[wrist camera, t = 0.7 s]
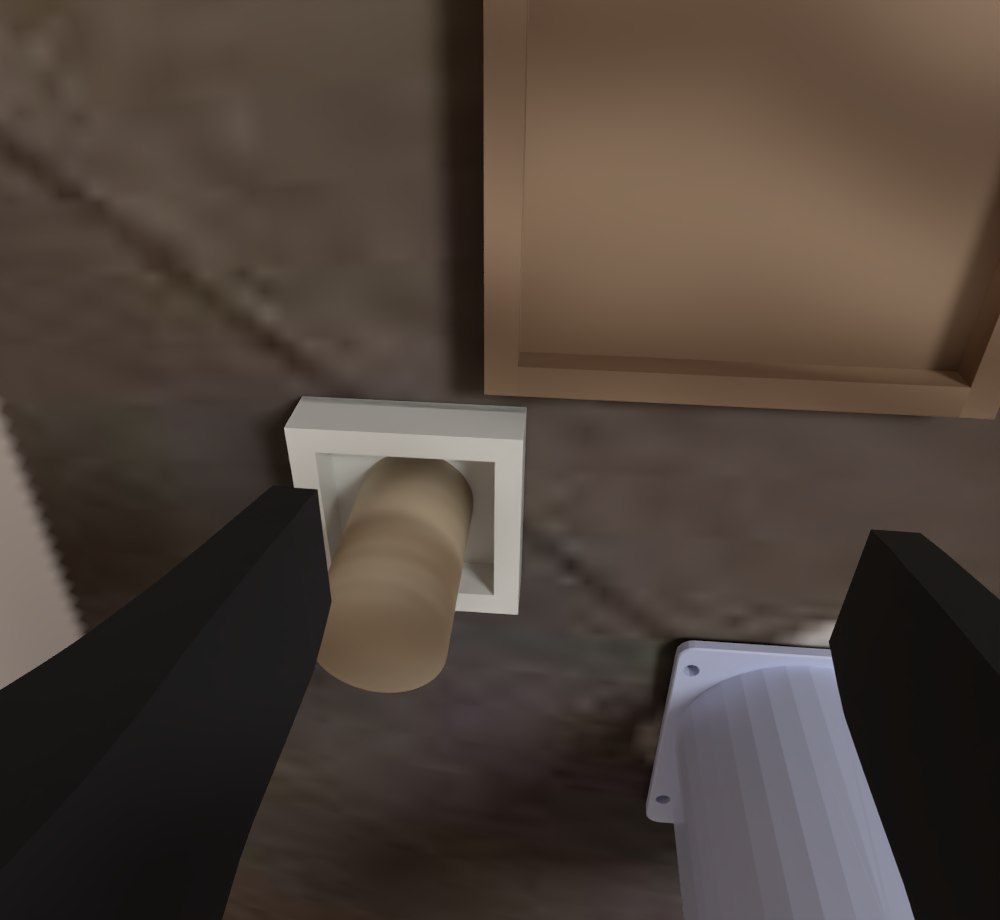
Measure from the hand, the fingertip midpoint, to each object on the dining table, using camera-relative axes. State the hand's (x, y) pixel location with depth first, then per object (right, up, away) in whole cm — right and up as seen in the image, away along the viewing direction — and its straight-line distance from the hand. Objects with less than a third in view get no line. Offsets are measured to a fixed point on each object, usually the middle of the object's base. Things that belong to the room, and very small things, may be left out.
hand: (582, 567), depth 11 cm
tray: (+5, +9, +5) cm, 12 cm away
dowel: (-3, 0, +12) cm, 12 cm away
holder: (-3, +1, +12) cm, 12 cm away
